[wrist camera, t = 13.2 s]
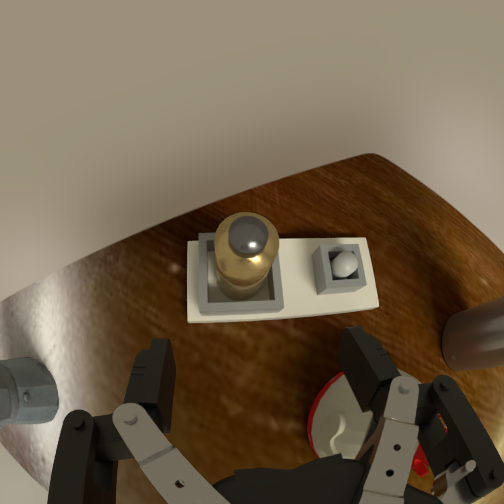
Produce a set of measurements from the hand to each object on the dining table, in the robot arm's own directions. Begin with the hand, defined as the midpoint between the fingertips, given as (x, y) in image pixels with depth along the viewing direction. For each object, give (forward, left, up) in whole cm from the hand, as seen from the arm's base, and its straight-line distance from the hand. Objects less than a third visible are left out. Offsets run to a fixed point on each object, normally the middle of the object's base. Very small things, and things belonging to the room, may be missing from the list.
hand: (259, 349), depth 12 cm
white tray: (-6, -8, -17) cm, 20 cm away
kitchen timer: (-14, +10, -18) cm, 24 cm away
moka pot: (+27, +7, -18) cm, 33 cm away
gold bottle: (0, -8, -16) cm, 18 cm away
